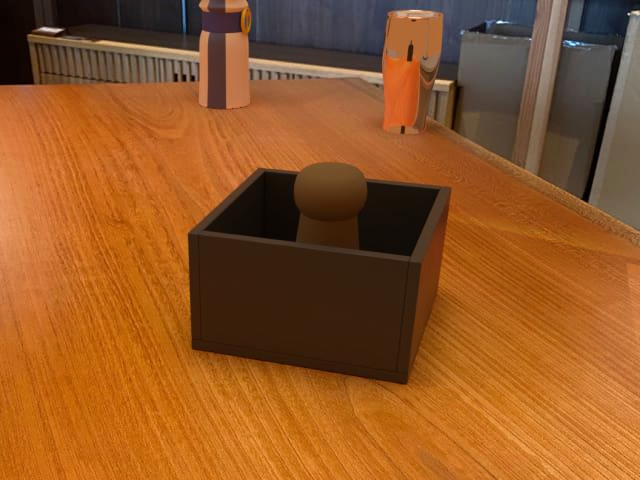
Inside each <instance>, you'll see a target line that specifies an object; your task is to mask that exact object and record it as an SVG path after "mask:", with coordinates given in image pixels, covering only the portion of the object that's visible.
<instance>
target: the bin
mask: <svg viewBox="0 0 640 480" xmlns="http://www.w3.org/2000/svg"><path fill="white" fill-rule="evenodd" d="M299 172H300V171H298V170H297V171H296V170H287V169H278V168H267V167H266V168H265V167H257V168H256V169H255V170H254V171H253V172H252V173H251V174H250V175H249V176H248V177H246V178H245V179H244V180H243V181H242V182H241V183H240V184H239V185H238V186H237V187H236V188H235V189H234V190H233V191H232V192H230V193H229V194H228V195H227V196H226V197H225V198H224V199H223V200H222V201H221V202H219V203H218V205H216V206H215V207H214V208H213V209H212V210H211V211H210V212H209V213H208V214H206V215H205V217H203V218H202V220H200V221H199V222H198V223H197V224H196V225H195V226H194V227H193V228H191V229H190V230H189V231H188V232H187V250H188V251H187V255H188V276H189V278H188V281H189V282H188V283H189V306H190V307H189V309H190V310H189V311H190V338H191V339H190V340H191V341H190V342H191V349H194V350H200V351H206V352H211V353H218V354H224V355H230V356H236V357H240V358H241V357H242V358H247V359H248V358H249V359H253V360H254V359H255V360H261V361H266V362H271V363H272V362H273V363H278V364H284V365H290V366H295V367H303V368H308V369H314V370H320V371H327V372H332V373H339V374H345V375H351V376H356V377H363V378H368V379H375V380H380V381H385V382H393V383H398V384H405V385H407V384H408V381H409V378H410V376H411V372H412V370H413V367H414V364H415V360H416V357H417V354H418V351H419V348H420V345H421V342H422V339H423V336H424V332H425V330H426V327H427V324H428V321H429V319H430V315H431V312H432V310H433V306H434V303H435V300H436V298H437V294H438V291H439V284H440V276H441V270H442V261H443V254H444V249H445V248H444V246H445V242H446V241H445V240H446V233H447V226H448V219H449V212H450V205H451V198H452V197H451V195H452V190H453V188H452V186H446V185H435V184H427V183H426V184H425V183H415V182H408V181H407V182H406V181H398V180H397V181H396V180H387V179H386V180H385V179H377V178H368V177H367V178H366V177H365V178H366V184H367V198H366V201H365V204H364V206H363V208H362V209H361V210H360V211H359V213H358V214H357V218H358V236H359V250H354V249H346V248H338V247H330V246H322V245H314V244H306V243H298V242H296V237H297V232H298V226H299V220H300V214H301V211H300V210H299V208H298V207H297V205H296V203H295V199H294V184H295V181H296V177H297V175H298V174H299Z"/></svg>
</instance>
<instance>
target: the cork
mask: <svg viewBox="0 0 640 480" xmlns="http://www.w3.org/2000/svg"><path fill="white" fill-rule="evenodd" d="M298 172H299V174H298V175H297V177H296V181H295V184H294V199H295V203H296V205H297V207H298V208H299V210H300V211H301V214H300V220H299V226H298V232H297V237H296V242H298V243H306V244H314V245H322V246H330V247H338V248H346V249H354V250H359V236H358V218H357V214H358V213H359V211H360V210H361V209H362V208H363V206H364V204H365V201H366V198H367V184H366V177H365V174H364V173H363V171H362V170H360V169H359V168H358V167H356V166H354V165H353V164H348V163H344V162H337V161H336V162H335V161H322V162H315V163H311V164H308V165H307V166H305V167H303V168H302V169H301V170H300V171H298Z"/></svg>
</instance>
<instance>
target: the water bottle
mask: <svg viewBox="0 0 640 480" xmlns="http://www.w3.org/2000/svg"><path fill="white" fill-rule="evenodd" d="M198 7H199V8H200V9H201V24H202V25H201V26H202V30H201V31H200V32H201V33H200V36H199V46H198V47H199V49H198V50H199V52H198V54H199V55H198V56H199V81H198V83H199V85H198V105H199V106H201V107H204V108H209V109H217V110H230V109H231V110H232V108H233V109H239V108H240V107H241V108H245V107H247V106H249V105H250V104H251V94H250V92H251V91H250V50H249V49H250V48H249V47H250V44H249V43H250V42H249V35H248V34H249V32H250V30H251V26H252V12H251V9H250V7H249V3H248V1H247V0H200V2H199V3H198ZM241 108H240V109H241Z"/></svg>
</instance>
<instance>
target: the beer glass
mask: <svg viewBox="0 0 640 480" xmlns="http://www.w3.org/2000/svg"><path fill="white" fill-rule="evenodd" d="M443 28H444V14H443V13H442V12H440V11H434V10H425V9H400V10H399V9H397V10H391V11H388V12H387V18H386V25H385V30H384V37H383V44H382V56H381V58H382V59H381V60H382V61H381V62H382V63H381V64H382V65H381V66H382V67H381V68H382V71H381V72H382V84H383V95H384V97H383V98H384V115H383V121H382V125H381V130H383V131H385V132H388V133H392V134H398V135H415V134H421V133H425V132H427V117H428V109H429V105H430V100H431V96H432V93H433V89H434V86H435V83H436V79H437V75H438V72H439V68H440V67H439V66H440V62H441V55H442V47H443V46H442V44H443V30H444V29H443Z"/></svg>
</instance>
